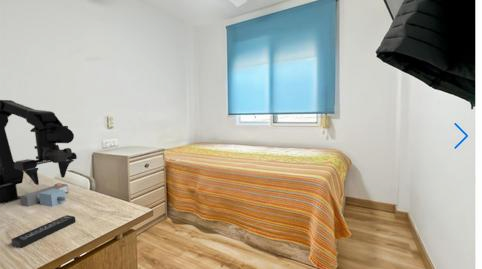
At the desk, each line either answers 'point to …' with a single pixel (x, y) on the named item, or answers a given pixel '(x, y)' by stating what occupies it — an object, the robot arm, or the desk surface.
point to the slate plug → (52, 197)
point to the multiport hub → (42, 231)
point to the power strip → (34, 196)
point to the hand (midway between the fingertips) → (50, 180)
